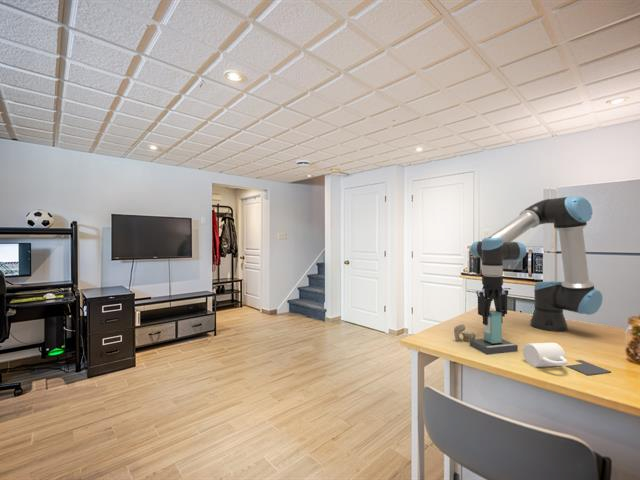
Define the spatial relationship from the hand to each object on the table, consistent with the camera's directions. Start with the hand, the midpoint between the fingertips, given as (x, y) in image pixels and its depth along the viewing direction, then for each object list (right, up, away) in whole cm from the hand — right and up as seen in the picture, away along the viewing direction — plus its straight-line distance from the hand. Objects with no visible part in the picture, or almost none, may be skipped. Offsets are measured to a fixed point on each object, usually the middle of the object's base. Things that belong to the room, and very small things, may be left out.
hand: (492, 331), depth 126 cm
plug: (0, -4, 0) cm, 4 cm away
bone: (-7, -8, +10) cm, 14 cm away
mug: (+10, -8, -17) cm, 22 cm away
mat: (+22, -7, -18) cm, 29 cm away
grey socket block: (0, -7, 0) cm, 7 cm away
